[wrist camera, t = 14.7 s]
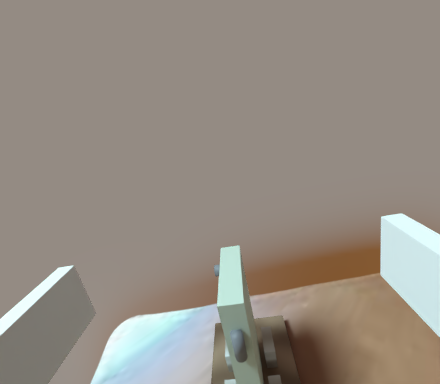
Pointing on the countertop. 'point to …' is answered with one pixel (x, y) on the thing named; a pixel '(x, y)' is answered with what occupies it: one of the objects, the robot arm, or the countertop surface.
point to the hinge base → (269, 352)
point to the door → (238, 318)
